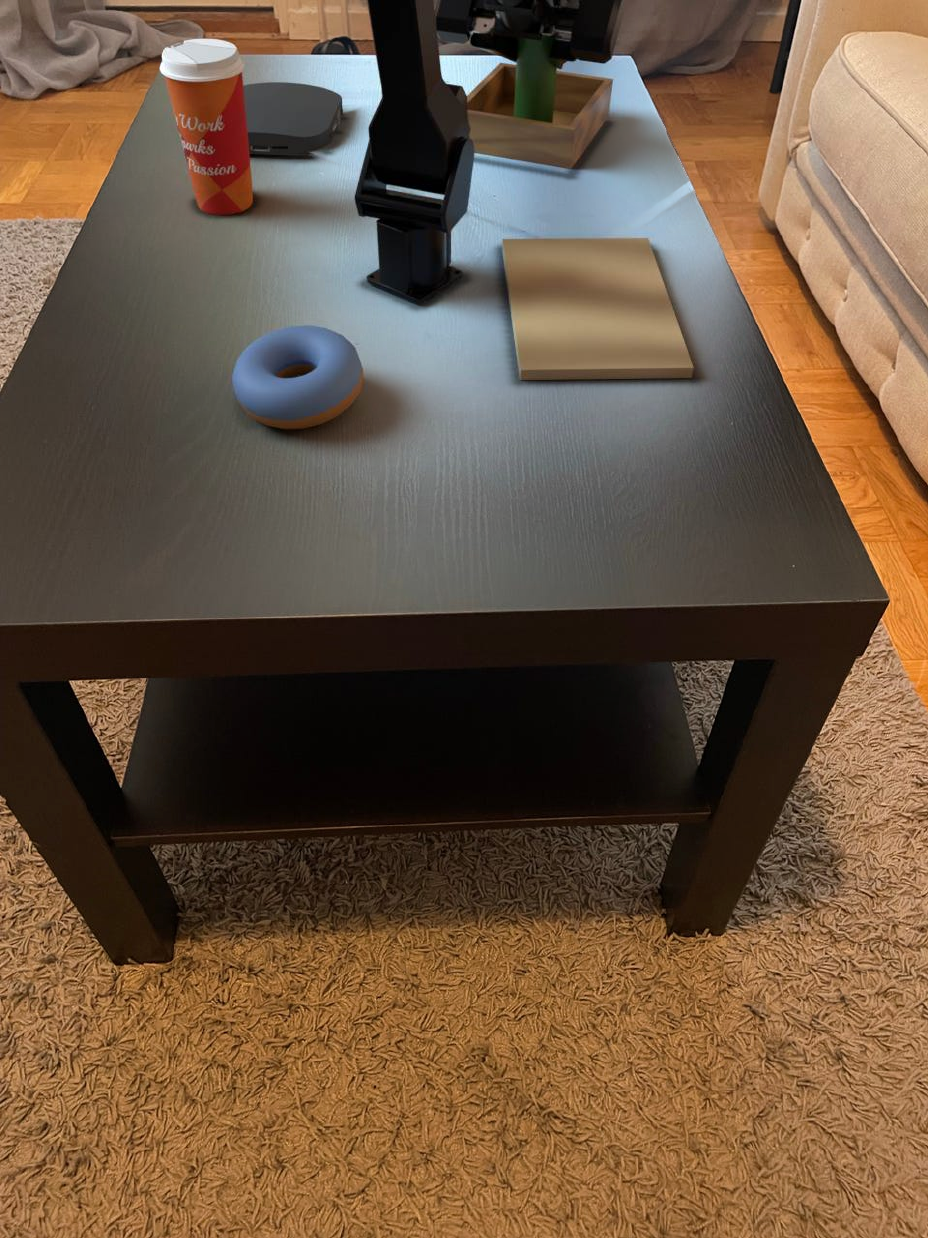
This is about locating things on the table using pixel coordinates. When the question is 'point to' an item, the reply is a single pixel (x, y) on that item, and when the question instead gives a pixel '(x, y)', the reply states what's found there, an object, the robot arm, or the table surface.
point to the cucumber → (535, 80)
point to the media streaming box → (290, 117)
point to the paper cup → (211, 121)
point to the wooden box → (535, 141)
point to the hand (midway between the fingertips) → (540, 61)
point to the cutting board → (591, 310)
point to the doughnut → (304, 398)
